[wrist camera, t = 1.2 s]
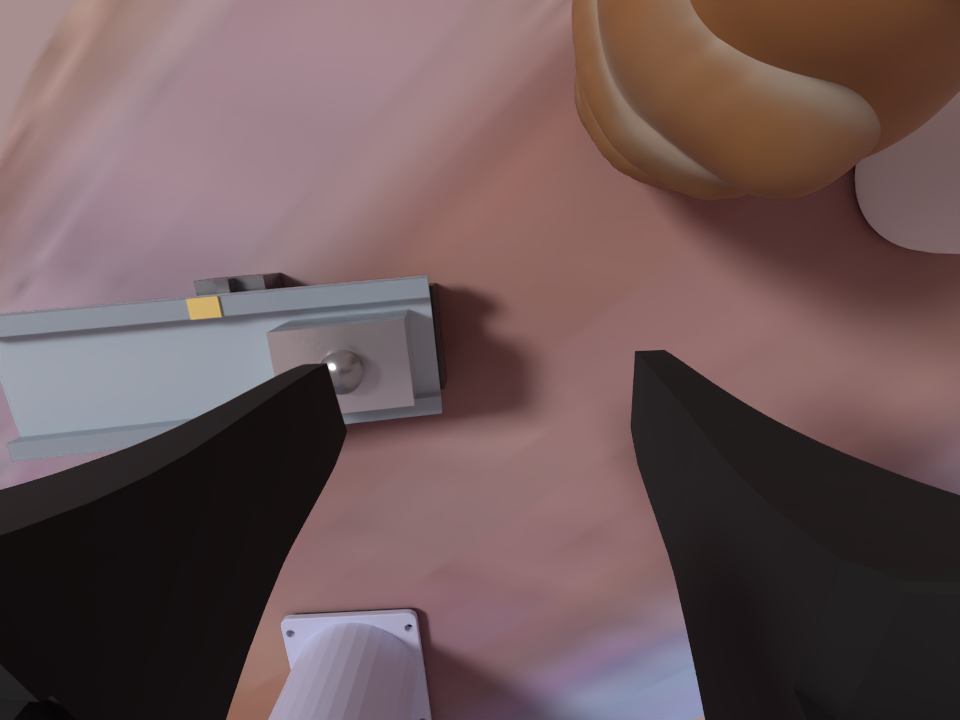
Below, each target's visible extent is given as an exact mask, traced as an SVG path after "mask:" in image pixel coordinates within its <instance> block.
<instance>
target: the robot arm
mask: <svg viewBox="0 0 960 720" xmlns="http://www.w3.org/2000/svg"><path fill="white" fill-rule="evenodd" d="M631 432H632V437H633V443H634V448H635V453H636V458H637V463H638V467H639V470H640V473H641V476H642V479H643V482H644V485H645V488H646V491H647V494H648V497H649V500H650V503H651V505H652V508H653V511H654V514H655V517H656V520H657V523H658V526H659V529H660V532H661V535H662V538H663V540H664V543H665V546H666V549H667V552H668V555H669V559H670V562H671V566H672V569H673V572H674V576H675V580H676V585H677V589H678V594H679V598H680V602H681V607H682V611H683V615H684V620H685V624H686V629H687V634H688V638H689V643H690V648H691V652H692V657H693V662H694V666H695V671H696V676H697V680H698V686H699V691H700V696H701V701H702V706H703V711H704V716H705V720H960V495H957V494H954V493H951V492H948V491H945V490H942V489H939V488H936V487H933V486H929V485H927V484H924V483H921V482H918V481H915V480H912V479H910V478H907V477H904V476H901V475H898V474H896V473H893V472H890V471H888V470H885V469H883V468H880V467H878V466H875V465H873V464H870V463H867V462H865V461H862V460H860V459H857V458H855V457H852V456H850V455H847V454H845V453H843V452H840V451H838V450H836V449H833V448H831V447H829V446H826V445H824V444H822V443H820V442H818V441H816V440H814V439H812V438H810V437H807V436H805V435H803V434H801V433H799V432H797V431H795V430H793V429H791V428H789V427H787V426H785V425H783V424H781V423H779V422H777V421H775V420H773V419H772V418H770V417H768V416H766V415H765V414H763V413H761V412H759V411H758V410H756V409H754V408H752V407H751V406H749V405H747V404H746V403H744V402H742V401H741V400H739V399H737V398H736V397H734V396H732V395H731V394H729V393H728V392H726V391H725V390H723V389H722V388H720V387H718V386H717V385H715V384H714V383H712V382H711V381H709V380H708V379H707V378H705V377H704V376H702V375H701V374H699V373H698V372H696V371H695V370H694V369H692V368H691V367H689V366H688V365H686V364H685V363H684V362H682V361H681V360H679V359H678V358H676V357H675V356H673V355H672V354H670V353H669V352H667V351H665V350H653V351H635V363H634V379H633V396H632V412H631ZM346 433H347V430H346V426H345V423H344V419H343V416H342V413H341V409H340V406H339V403H338V399H337V396H336V392H335V389H334V386H333V382H332V379H331V375H330V372H329V369H328V365H327V363H322V364H303V365H300V366H297V367H295V368H292V369H290V370H288V371H286V372H283V373H281V374H279V375H277V376H275V377H273V378H271V379H269V380H268V381H266V382H264V383H262V384H260V385H258V386H256V387H254V388H252V389H250V390H249V391H247V392H245V393H243V394H241V395H239V396H237V397H235V398H233V399H232V400H230V401H228V402H226V403H224V404H222V405H220V406H218V407H216V408H214V409H212V410H210V411H208V412H206V413H204V414H202V415H200V416H198V417H196V418H194V419H192V420H190V421H188V422H186V423H184V424H182V425H179V426H177V427H175V428H173V429H171V430H169V431H166V432H164V433H162V434H160V435H157V436H155V437H153V438H150V439H148V440H145V441H143V442H140V443H138V444H136V445H133V446H131V447H128V448H126V449H123V450H121V451H118V452H116V453H113V454H110V455H107V456H104V457H101V458H99V459H96V460H93V461H90V462H87V463H84V464H82V465H79V466H76V467H73V468H70V469H67V470H65V471H62V472H59V473H56V474H53V475H49V476H46V477H43V478H40V479H36V480H33V481H30V482H27V483H23V484H20V485H16V486H13V487H9V488H6V489H2V490H0V720H226V718H227V714H228V711H229V708H230V705H231V702H232V699H233V696H234V693H235V690H236V687H237V684H238V681H239V678H240V675H241V672H242V669H243V666H244V664H245V661H246V658H247V655H248V652H249V649H250V646H251V644H252V641H253V638H254V636H255V633H256V631H257V628H258V625H259V623H260V620H261V617H262V615H263V612H264V609H265V607H266V604H267V602H268V599H269V597H270V594H271V592H272V590H273V587H274V585H275V582H276V580H277V578H278V575H279V573H280V570H281V568H282V566H283V563H284V561H285V559H286V557H287V555H288V553H289V551H290V549H291V547H292V545H293V543H294V541H295V539H296V538H297V536H298V534H299V532H300V530H301V528H302V527H303V525H304V523H305V521H306V519H307V517H308V516H309V514H310V512H311V510H312V508H313V506H314V505H315V503H316V501H317V499H318V497H319V495H320V494H321V492H322V490H323V488H324V486H325V484H326V482H327V480H328V479H329V477H330V475H331V473H332V471H333V469H334V467H335V464H336V462H337V459H338V457H339V454H340V451H341V448H342V445H343V442H344V439H345V436H346ZM408 624H410V625H412V626H408ZM281 629H282V633H283V637H284V642H285V646H286V651H287V655H288V659H289V664H290V668H291V672H290V675H289V677H288V679H287V681H286V683H285V685H284V687H283V690H282V692H281V694H280V696H279V698H278V700H277V702H276V705H275V707H274V709H273V711H272V713H271V715H270V717H269V720H432V717H431V710H430V702H429V695H428V688H427V681H426V674H425V667H424V659H423V652H422V645H421V638H420V631H419V623H418V616H417V613H416V612H415V611H413V610H411V609H400V610H380V611H360V612H340V613H320V614H300V615H288V616H286V617H284V619H283V621H282V623H281ZM290 630H292V631H294V632H292V631H290Z"/></svg>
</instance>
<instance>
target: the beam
mask: <svg viewBox="0 0 960 720" xmlns="http://www.w3.org/2000/svg"><path fill="white" fill-rule="evenodd" d="M401 309H408V313H409V321H410V329H411V338H412V346H413V354H414V362H415V371H416V379H417V388H416V397H415V406H406V407H397V408H388V409H379V410H370V411H361V412H352V413H343V414H342V416H343V419H344V423H345V424H351V423H360V422H369V421H378V420H387V419H395V418H404V417H413V416H422V415H431V414H440V413H442V400H441V391H440V382H439V372H438V363H437V354H436V345H435V336H434V326H433V317H432V308H431V299H430V290H429V280H428V275H423V276H412V277H401V278H390V279H379V280H368V281H356V282H345V283H334V284H323V285H312V286H301V287H290V288H278V289H267V290H256V291H245V292H234V293H223V294H212V295H201V296H189V297H178V298H167V299H156V300H145V301H134V302H123V303H111V304H100V305H89V306H78V307H67V308H56V309H45V310H34V311H22V312H11V313H0V381H1V384H2V387H3V389H4V392H5V395H6V398H7V401H8V403H9V406H10V409H11V412H12V415H13V418H14V420H15V423H16V426H17V429H18V432H19V435H20V438H17V439H15V440H13V441H11V442H9V443H7V444H6V446H7V448H8V451H9V454H10V457H11V459H12V461H21V460H30V459H39V458H48V457H57V456H66V455H75V454H84V453H93V452H101V451H110V450H119V449H126V448H128V447H131V446H133V445H136V444H138V443H140V442H143V441H145V440H148V439H150V438H153V437H155V436H157V435H160V434H162V433H164V432H166V431H169V430H171V429H173V428H175V427H177V426H179V425H182V424H184V423H186V422H188V421H190V420H192V419H194V418H196V417H198V416H200V415H202V414H204V413H206V412H208V411H210V410H212V409H214V408H216V407H218V406H220V405H222V404H224V403H226V402H228V401H230V400H232V399H233V398H235V397H237V396H239V395H241V394H243V393H245V392H247V391H249V390H250V389H252V388H254V387H256V386H258V385H260V384H262V383H264V382H266V381H268V380H269V379H271V378H273V377H275V376H274V371H273V366H272V361H271V356H270V351H269V346H268V341H267V336H266V333H267V332H269V331H270V330H272V329H274V328H276V327H278V326H280V325H282V324H284V323H286V322H288V321H289V320H296V319H306V318H317V317H327V316H338V315H348V314H359V313H369V312H380V311H390V310H401Z"/></svg>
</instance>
